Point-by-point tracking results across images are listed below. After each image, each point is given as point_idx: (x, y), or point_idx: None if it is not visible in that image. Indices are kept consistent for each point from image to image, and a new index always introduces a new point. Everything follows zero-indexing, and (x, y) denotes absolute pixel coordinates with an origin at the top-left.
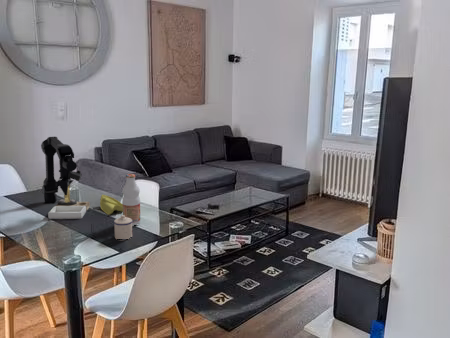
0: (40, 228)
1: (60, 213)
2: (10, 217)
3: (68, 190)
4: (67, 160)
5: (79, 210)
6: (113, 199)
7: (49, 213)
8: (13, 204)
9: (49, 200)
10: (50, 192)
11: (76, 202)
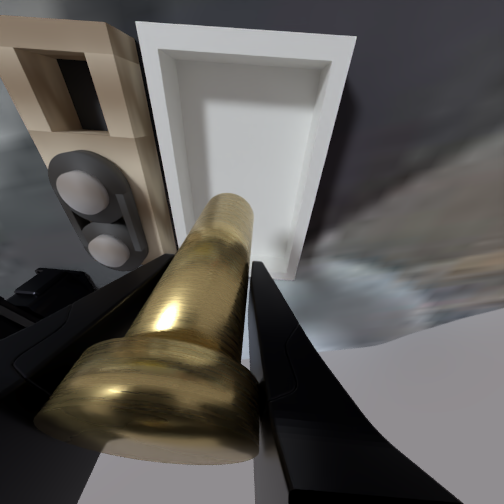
0: (409, 269)
1: (308, 224)
2: None
3: (224, 287)
4: None
5: (180, 106)
6: None
7: (295, 274)
8: None
9: (79, 295)
10: (34, 323)
11: (82, 152)
